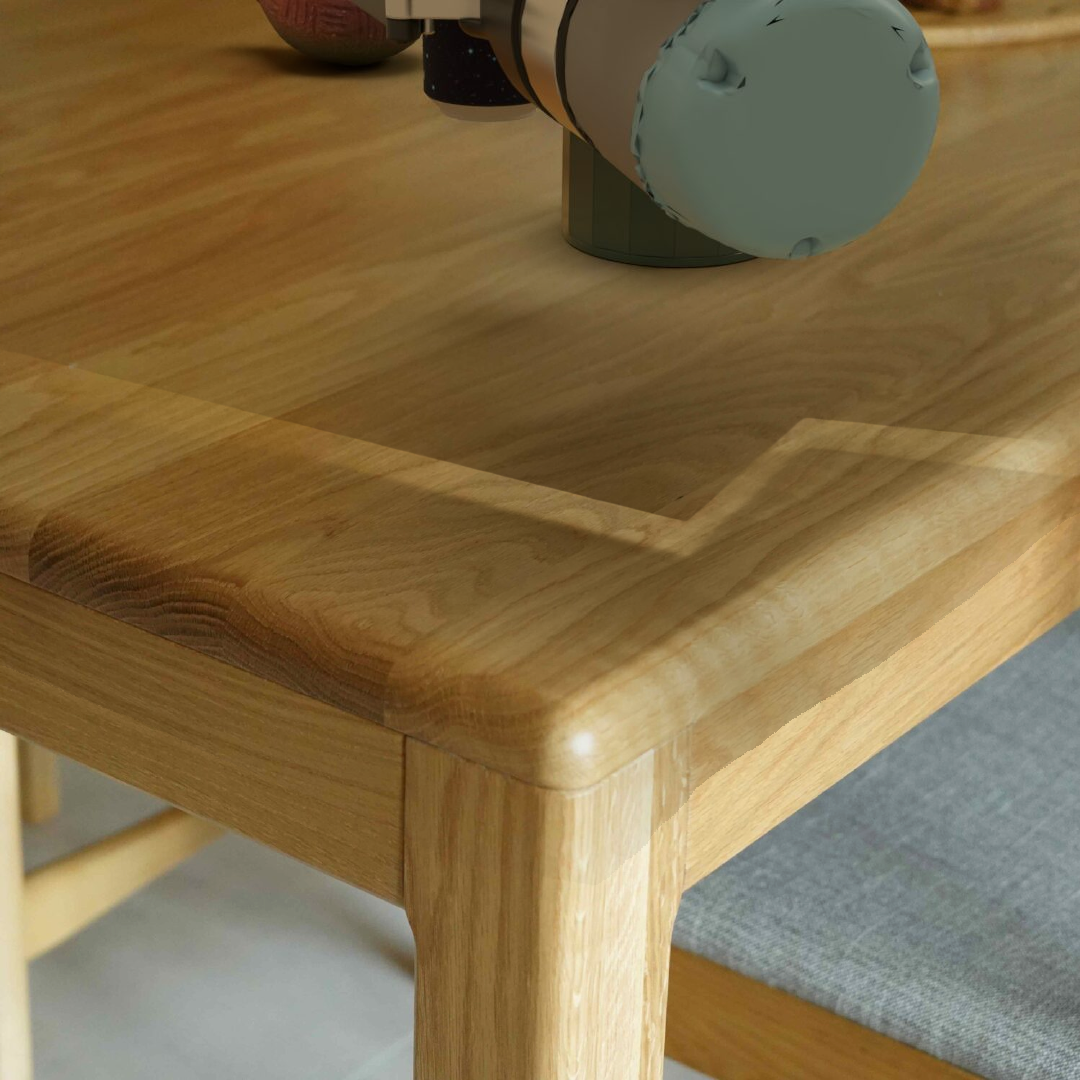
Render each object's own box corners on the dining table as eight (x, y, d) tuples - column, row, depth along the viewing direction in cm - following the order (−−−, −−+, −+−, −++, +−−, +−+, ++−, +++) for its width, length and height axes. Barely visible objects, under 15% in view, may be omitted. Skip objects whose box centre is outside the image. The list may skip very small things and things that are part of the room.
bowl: (435, 47, 135) (432, -55, 132) (424, 80, 124) (421, -31, 120) (240, 46, 135) (232, -56, 132) (211, 78, 124) (202, -33, 120)
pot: (794, 200, 95) (807, 31, 91) (758, 292, 80) (772, 95, 76) (598, 186, 97) (601, 21, 93) (528, 273, 83) (528, 81, 78)
